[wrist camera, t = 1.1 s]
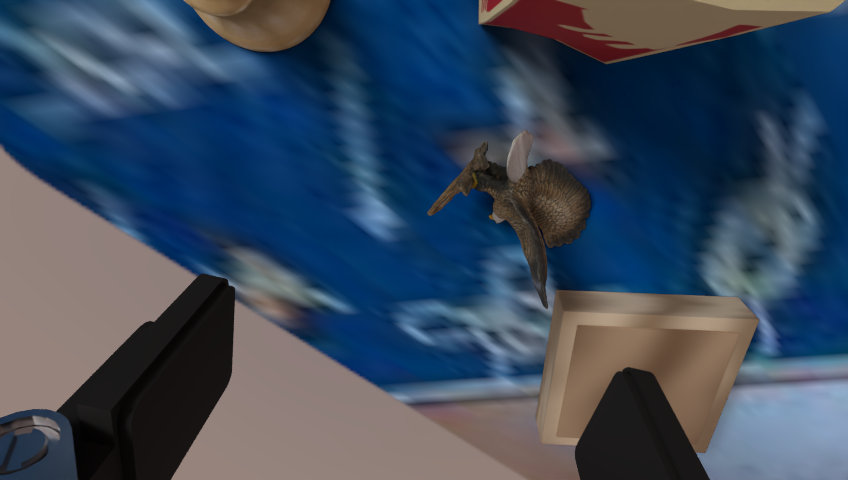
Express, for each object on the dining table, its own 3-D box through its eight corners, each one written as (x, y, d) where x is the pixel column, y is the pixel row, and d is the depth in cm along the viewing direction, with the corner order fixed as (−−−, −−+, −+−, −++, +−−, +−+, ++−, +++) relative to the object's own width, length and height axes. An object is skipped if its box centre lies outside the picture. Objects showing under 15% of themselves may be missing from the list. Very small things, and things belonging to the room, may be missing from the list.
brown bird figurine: (415, 222, 29) (525, 312, 30) (435, 202, 22) (579, 320, 23) (487, 133, 30) (591, 221, 31) (528, 87, 23) (662, 201, 24)
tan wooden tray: (737, 297, 31) (761, 321, 29) (690, 425, 37) (706, 455, 34) (556, 289, 32) (564, 313, 30) (535, 417, 37) (541, 445, 35)
